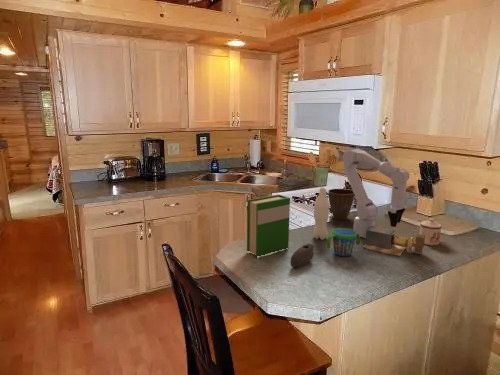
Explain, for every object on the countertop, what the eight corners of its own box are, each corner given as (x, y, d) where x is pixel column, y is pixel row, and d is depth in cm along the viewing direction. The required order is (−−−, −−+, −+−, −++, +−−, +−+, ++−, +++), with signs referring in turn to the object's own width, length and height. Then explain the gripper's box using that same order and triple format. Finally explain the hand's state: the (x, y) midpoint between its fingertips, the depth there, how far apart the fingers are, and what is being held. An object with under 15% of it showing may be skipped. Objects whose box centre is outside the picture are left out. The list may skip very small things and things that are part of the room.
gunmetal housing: (365, 244, 160) (366, 229, 159) (369, 239, 166) (371, 225, 164) (390, 249, 154) (391, 234, 153) (393, 244, 160) (395, 230, 158)
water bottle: (311, 239, 167) (313, 189, 162) (314, 234, 174) (316, 186, 168) (326, 241, 165) (329, 190, 159) (328, 236, 171) (331, 187, 166)
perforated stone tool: (296, 272, 133) (296, 255, 132) (285, 268, 137) (285, 251, 135) (316, 260, 144) (317, 244, 143) (306, 256, 148) (306, 241, 146)
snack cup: (353, 247, 157) (354, 226, 155) (365, 257, 147) (367, 234, 145) (321, 250, 154) (322, 228, 152) (331, 260, 144) (332, 237, 142)
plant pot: (321, 216, 204) (322, 190, 201) (340, 213, 211) (342, 187, 207) (338, 223, 191) (340, 195, 188) (358, 219, 198) (360, 192, 195)
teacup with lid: (432, 247, 159) (435, 223, 156) (414, 241, 166) (416, 217, 164) (446, 242, 165) (450, 219, 163) (428, 236, 173) (431, 214, 170)
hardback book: (257, 258, 145) (257, 203, 140) (246, 253, 151) (247, 199, 145) (288, 249, 155) (290, 197, 150) (277, 244, 161) (278, 194, 156)
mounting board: (362, 247, 158) (362, 246, 157) (371, 238, 169) (371, 237, 169) (400, 256, 149) (400, 254, 149) (406, 246, 160) (407, 245, 160)
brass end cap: (384, 247, 156) (386, 231, 154) (388, 243, 161) (389, 227, 159) (421, 255, 147) (423, 238, 146) (423, 250, 152) (425, 234, 151)
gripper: (404, 200, 150) (400, 230, 153) (410, 194, 162) (407, 222, 165) (387, 198, 154) (384, 227, 157) (395, 192, 166) (392, 219, 169)
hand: (395, 224), depth 161 cm, fingers open, 7 cm apart
